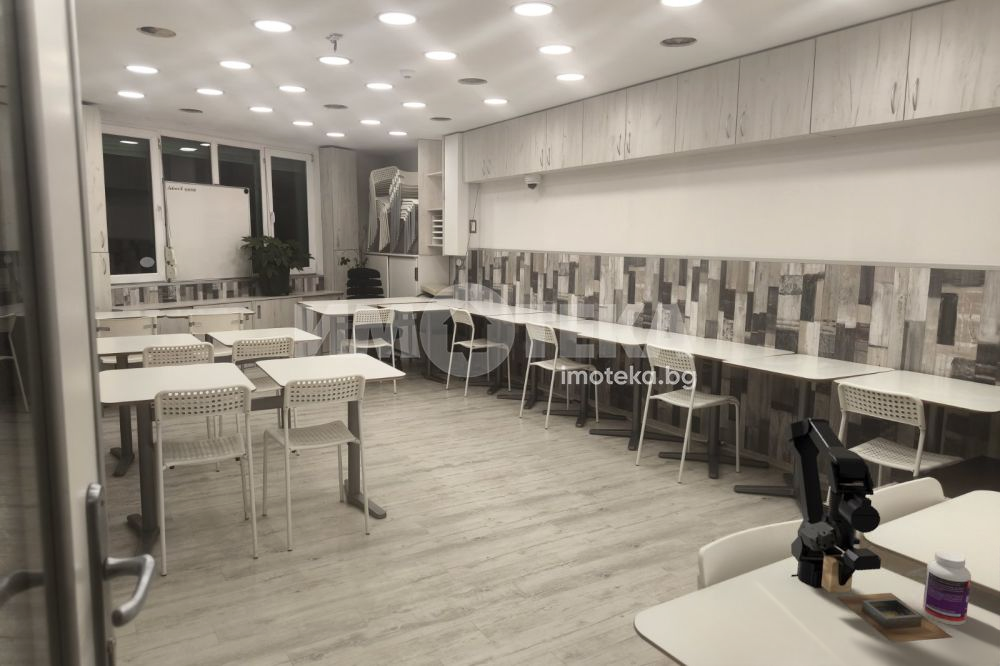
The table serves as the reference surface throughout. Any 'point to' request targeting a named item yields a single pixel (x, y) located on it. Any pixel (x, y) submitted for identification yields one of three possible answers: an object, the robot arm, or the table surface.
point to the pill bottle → (947, 588)
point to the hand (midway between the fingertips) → (836, 581)
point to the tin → (891, 613)
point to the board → (895, 635)
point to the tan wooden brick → (833, 576)
